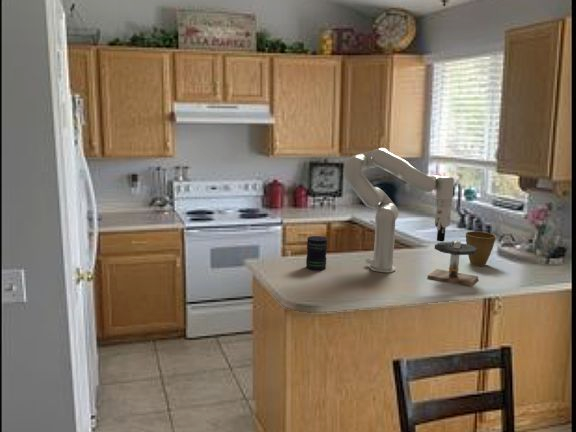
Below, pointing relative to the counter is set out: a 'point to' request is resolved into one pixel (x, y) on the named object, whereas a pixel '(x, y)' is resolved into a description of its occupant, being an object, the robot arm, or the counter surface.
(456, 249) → the grey petal ring
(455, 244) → the steel pipe
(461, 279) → the base board
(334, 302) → the counter surface
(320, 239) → the storage jar
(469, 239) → the plant pot
